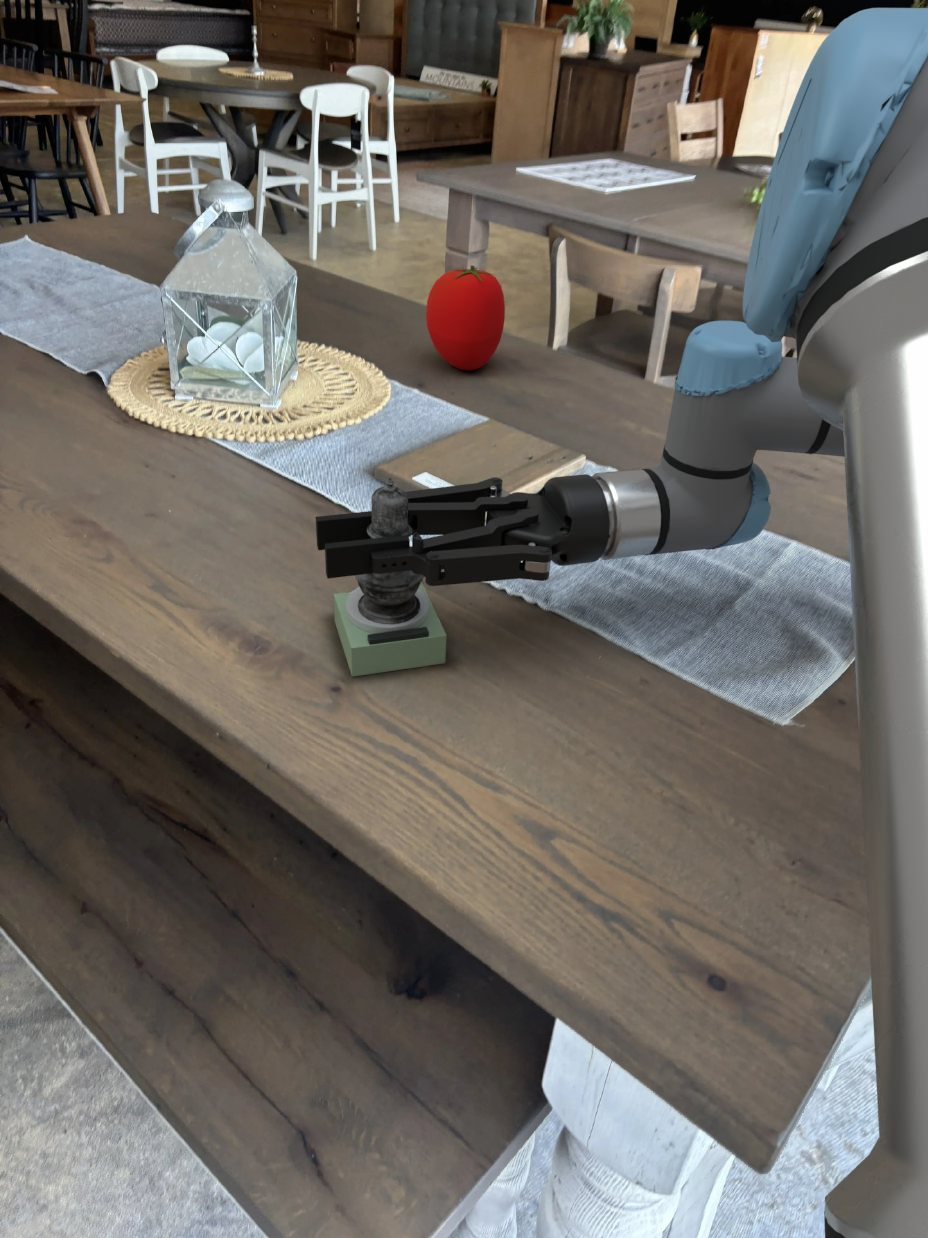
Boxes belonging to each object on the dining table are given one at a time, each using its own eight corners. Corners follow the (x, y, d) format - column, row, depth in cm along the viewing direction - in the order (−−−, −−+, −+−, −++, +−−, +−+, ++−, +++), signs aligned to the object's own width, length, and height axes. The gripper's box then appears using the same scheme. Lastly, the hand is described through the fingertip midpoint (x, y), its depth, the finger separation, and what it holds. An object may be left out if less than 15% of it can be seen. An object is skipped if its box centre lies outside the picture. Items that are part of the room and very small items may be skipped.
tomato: (505, 381, 130) (513, 279, 122) (426, 379, 129) (429, 276, 121) (495, 350, 140) (502, 255, 132) (422, 349, 139) (425, 252, 131)
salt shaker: (406, 633, 73) (408, 502, 67) (341, 615, 75) (337, 485, 68) (434, 596, 78) (440, 470, 71) (373, 580, 80) (372, 454, 73)
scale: (445, 663, 77) (447, 627, 75) (351, 677, 75) (351, 640, 72) (421, 610, 83) (422, 575, 81) (334, 621, 81) (333, 585, 79)
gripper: (629, 608, 73) (342, 647, 67) (554, 509, 86) (307, 535, 80) (645, 527, 69) (339, 561, 63) (563, 436, 82) (302, 457, 76)
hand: (322, 547), depth 71 cm, fingers closed on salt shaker, 4 cm apart
